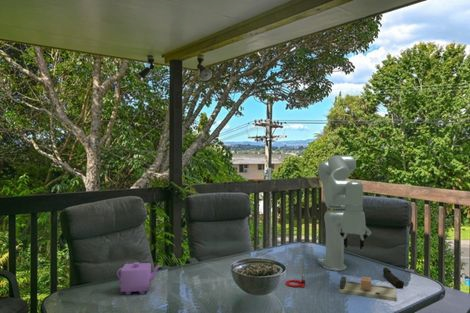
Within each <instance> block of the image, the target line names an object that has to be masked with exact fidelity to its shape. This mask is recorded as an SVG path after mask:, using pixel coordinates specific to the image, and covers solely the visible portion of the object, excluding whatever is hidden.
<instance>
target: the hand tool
mask: <svg viewBox="0 0 470 313" xmlns="http://www.w3.org/2000/svg"><path fill="white" fill-rule="evenodd" d="M382 272H383V273H382V274H383V277H384V278H385V279H387V280H388V281H389V282H391V284H392V285H393V286H394V287H395V288H396V289H401V290H402V289H403V288H404V285H405V283H404V281H403V280H400V279H399V278H398V277H397V276H395V275H394V274H393V273H392V271H391V269H389V268H388V267H383V270H382Z"/></svg>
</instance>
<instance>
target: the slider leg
mask: <svg viewBox="0 0 470 313" xmlns="http://www.w3.org/2000/svg"><path fill="white" fill-rule="evenodd" d="M360 283H361V289H362V290H365V291H366V290H369V291H370V290H371V284H372V277H371V276H370V277H369V276H365V275H364V276H363V275H362V276H361V278H360Z"/></svg>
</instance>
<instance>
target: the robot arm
mask: <svg viewBox="0 0 470 313" xmlns="http://www.w3.org/2000/svg"><path fill="white" fill-rule="evenodd" d="M317 166H318V167H317V168H318V169H317V170H318V171H317V173H318V178H319V181H320V182H321V184H322V188H323V196H324V203H325V206H326V207H327V208H328V209H330V210H327V211H326V212H325V213H324V216H323V219H324V224H325V225H324V226H325V257H324V258H322V257H317V262H318V263H322V268H324V269H326V270H329V271H333V272H334V271H336V272H339V271H340V272H341V271H345V270H346V269H347V265H346V264H344V259H345V258H344V257H345V256H344V254H345V253H344V252H345V248H347V247H348V237H347V236H348V235H349V234H350V235H359V237H360V241H359V249H360V250H363V248H364V246H365V244H364V240H366V239H367V238H368V237H369V236H371V235H372V231H371V230H370V228H368V227H367V225H366V216H365V215H366V214H365V212H364V211H363V210H364V207H363V204H364V202H363V200H364V198H363V196H364V193H363V192H364V185H363V183H362V182H360V181H359V180H355V179H348V178H349V176H350V174H352V173H353V172H354V171H355V170H356V167H357V160H356V158H355V157H354V156H353V155H338V154H336V155H333V156H330V157H329V158H328V160H325V161H322V162H319V164H318V165H317ZM366 232H367V233H366Z"/></svg>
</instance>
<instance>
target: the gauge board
mask: <svg viewBox="0 0 470 313" xmlns="http://www.w3.org/2000/svg"><path fill="white" fill-rule="evenodd" d="M337 293H341V294H345V295H346V294H347V295H353V296H358V297H366V298H373V299H380V300H387V301H392V302H397V298H398V297H397V288H396V287H395V286H394V287H393V286H388V285H381V284H373V283H371V290H370V291H369V290H366V291H365V290H362V289H361V281H353V280H347V277H346V276H341V277H340V279H339V285H338V288H337Z"/></svg>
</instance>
